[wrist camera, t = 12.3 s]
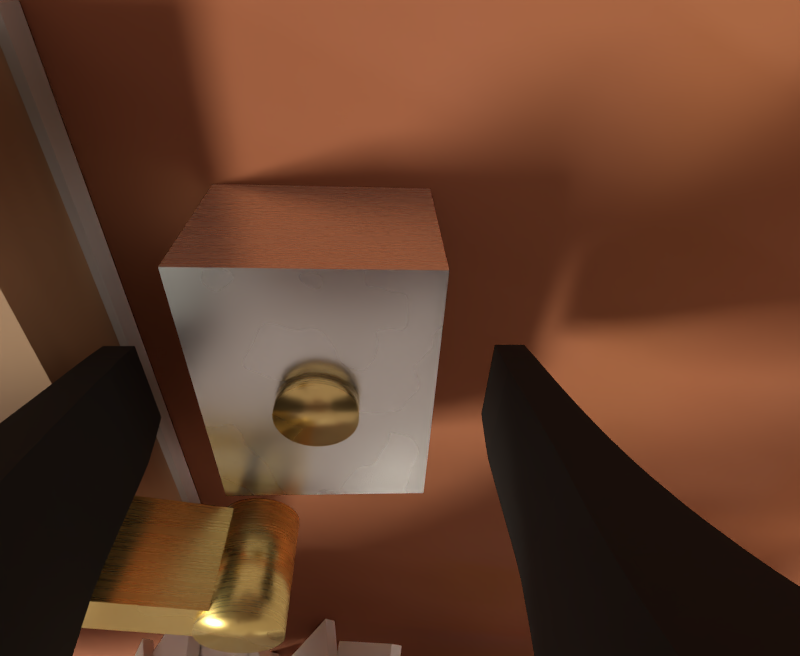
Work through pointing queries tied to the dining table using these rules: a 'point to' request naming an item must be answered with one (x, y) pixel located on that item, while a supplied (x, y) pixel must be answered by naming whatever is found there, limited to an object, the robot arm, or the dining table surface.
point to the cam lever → (200, 573)
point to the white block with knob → (312, 334)
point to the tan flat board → (58, 258)
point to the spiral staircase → (316, 652)
